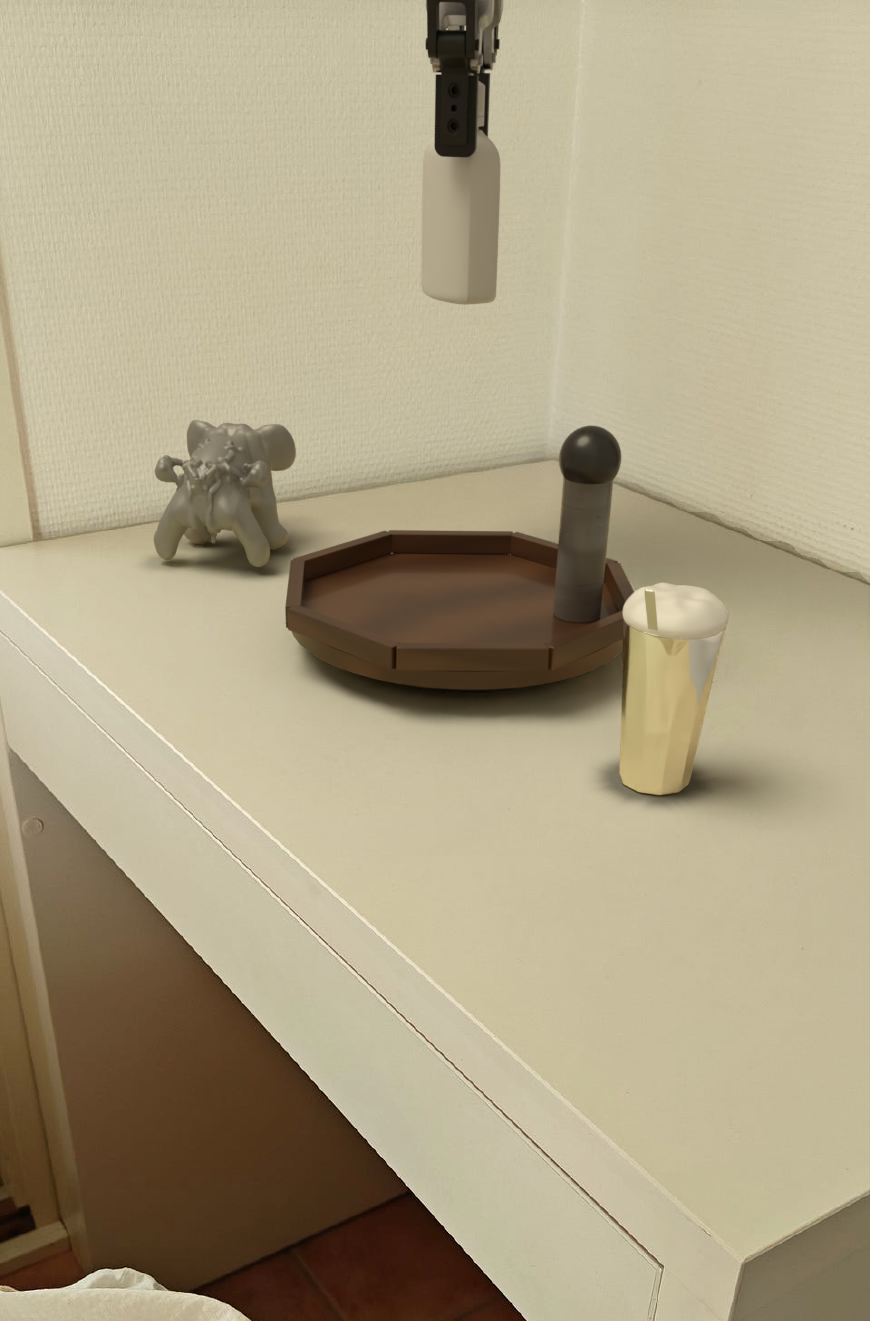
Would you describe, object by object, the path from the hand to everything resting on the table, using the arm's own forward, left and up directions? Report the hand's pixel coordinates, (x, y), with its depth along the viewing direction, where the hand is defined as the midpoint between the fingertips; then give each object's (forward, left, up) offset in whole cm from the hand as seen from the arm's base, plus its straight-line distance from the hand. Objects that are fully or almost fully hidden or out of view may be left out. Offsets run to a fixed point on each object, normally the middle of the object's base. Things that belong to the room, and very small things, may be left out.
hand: (461, 151), depth 76 cm
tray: (-2, +15, -22) cm, 26 cm away
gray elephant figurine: (+15, 0, -23) cm, 28 cm away
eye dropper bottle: (0, 0, -8) cm, 8 cm away
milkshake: (-13, +30, -23) cm, 40 cm away
